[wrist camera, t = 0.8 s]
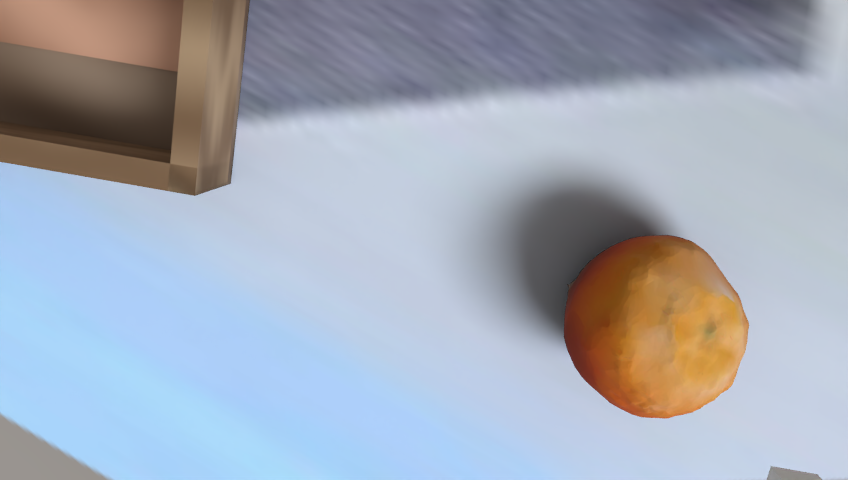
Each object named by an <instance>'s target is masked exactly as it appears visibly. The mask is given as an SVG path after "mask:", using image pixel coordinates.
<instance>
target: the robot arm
mask: <svg viewBox="0 0 848 480" xmlns="http://www.w3.org/2000/svg"><path fill="white" fill-rule="evenodd" d="M767 480H822V479H821V478H820V477H819V476H818V475H817V474H812V473H806V472H801V471H795V470H790V469H784V468H778V467H773V466H771V468H770V471H769V474H768V477H767Z"/></svg>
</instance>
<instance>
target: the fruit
mask: <svg viewBox="0 0 848 480" xmlns="http://www.w3.org/2000/svg"><path fill="white" fill-rule="evenodd" d="M568 286H569V290H568V298H567V302H566V309H565V318H564V339H565V343H566V347H567V350H568V352H569V355H570V357H571V359H572V361H573V364H574V366H575V368H576V369H577V371H578V372H579V373H580V375H581V376H582V377H583V378H584V380H585V381H586V382H587V383H588V384H589V385H590V386H592V387H593V388H594V389H595V390H596V391H597V392H599V393H600V394H601V395H602V396H603V397H604V398H605V399H607V400H608V401H609V402H610V403H611V404H613V405H615V406H617V407H618V408H620V409H622V410H624V411H626V412H628V413H630V414H633V415H636V416H640V417H648V418H670V417H673V416H677V415H683V414H687V413H691V412H693V411H695V410H697V409H700V408H701V407H702V406H704V405H706V404H708V403H709V402H711V401H714V400H715V398H717V397H718V396H719V395H720V394H721V393H722V392H724V391H726V390H728V389H729V388H730V387H731V385H732V384H733V382H734V379H735V377H736V373H737V370H738V367H739V364H740V361H741V359H742V357H743V355H744V353H745V350H746V344H747V336H748V328H749V323H748V320H747V318H746V315H745V313H744V310H743V307H742V303H741V300H740V298H739V296H738V294H737V292H736V291H735V290H734V289H733V287H732V286H731V285H730V283H729V282H728V281H727V279H726V278H725V276H724V275H723V273H722V272H721V271H720V269H719V268H718V266H717V265H716V263H715V262H714V260H713V259H712V258H711V257H710V256H709V254H708V253H707V252H705V251H704V250H703V249H702V248H701V247H699V246H698V245H696V244H695V243H693V242H691V241H689V240H686V239H683V238H679V237H675V236H670V235H659V236H641V237H635V238H631V239H628V240H625V241H623V242H620V243H618V244H615V245H613V246H611V247H610V248H608V249H606V250H605V251H603V252H602V253H600V254H599V255H597V256H596V257H595V258H594V259H592V260H591V261H590V262H589V263H588V264H587V265H586V266H585V267H584V268H583V269H582V270H581V272H580V273H579V275H578V277H577V278H576V280H575V281H573V282H572V283H571V284H570V285H568Z"/></svg>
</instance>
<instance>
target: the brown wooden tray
mask: <svg viewBox="0 0 848 480" xmlns="http://www.w3.org/2000/svg"><path fill="white" fill-rule="evenodd" d="M249 3H250V0H0V162H5V163H11V164H17V165H22V166H28V167H34V168H40V169H45V170H51V171H57V172H62V173H68V174H74V175H80V176H85V177H91V178H97V179H103V180H108V181H114V182H120V183H126V184H131V185H137V186H143V187H149V188H154V189H160V190H166V191H171V192H177V193H183V194H189V195H194V196H195V195H198V194H201V193H204V192H207V191H210V190H213V189H216V188H219V187H222V186H225V185H228V184H231V175H232V166H233V156H234V146H235V137H236V127H237V118H238V108H239V99H240V89H241V79H242V70H243V60H244V51H245V41H246V31H247V22H248V12H249Z"/></svg>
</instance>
